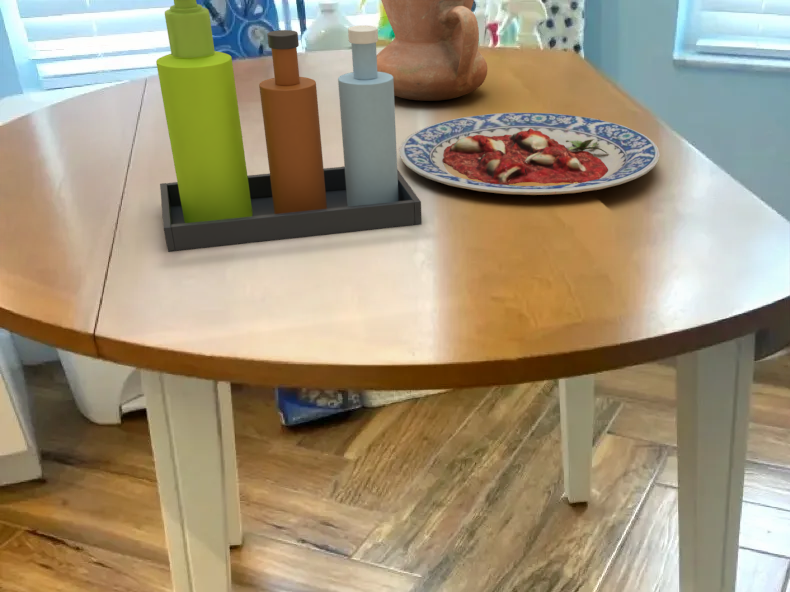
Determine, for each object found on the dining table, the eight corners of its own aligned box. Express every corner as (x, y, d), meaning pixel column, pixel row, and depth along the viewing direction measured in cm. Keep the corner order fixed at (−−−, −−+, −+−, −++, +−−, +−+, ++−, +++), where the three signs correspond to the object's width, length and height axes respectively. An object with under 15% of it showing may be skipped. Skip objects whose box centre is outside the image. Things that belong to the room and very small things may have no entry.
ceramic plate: (428, 226, 84) (427, 193, 82) (381, 142, 105) (379, 114, 103) (700, 201, 89) (705, 169, 87) (604, 125, 109) (606, 98, 108)
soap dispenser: (193, 238, 80) (147, -29, 69) (178, 211, 85) (133, -41, 74) (262, 227, 82) (229, -34, 70) (244, 201, 87) (209, -46, 76)
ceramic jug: (348, 88, 124) (340, -34, 116) (444, 74, 130) (442, -44, 122) (417, 121, 111) (413, -14, 103) (520, 103, 118) (523, -25, 110)
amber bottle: (278, 225, 82) (256, 40, 74) (271, 207, 86) (250, 29, 78) (331, 219, 83) (315, 36, 75) (322, 202, 87) (307, 25, 79)
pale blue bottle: (352, 217, 84) (339, 35, 75) (343, 199, 87) (329, 24, 79) (404, 211, 85) (396, 31, 76) (392, 195, 88) (384, 21, 80)
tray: (169, 260, 78) (163, 227, 77) (165, 213, 87) (159, 183, 85) (422, 232, 83) (421, 201, 81) (393, 191, 92) (392, 161, 90)
